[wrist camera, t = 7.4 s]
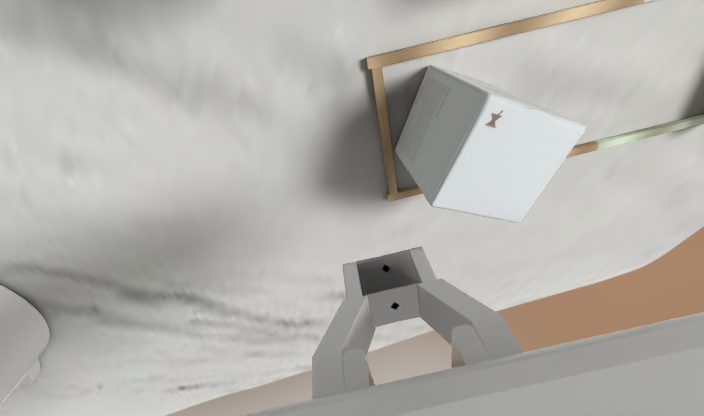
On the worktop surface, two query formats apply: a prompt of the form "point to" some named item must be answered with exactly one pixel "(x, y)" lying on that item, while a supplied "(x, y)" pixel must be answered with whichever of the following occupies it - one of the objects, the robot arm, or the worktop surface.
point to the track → (375, 63)
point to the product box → (481, 146)
